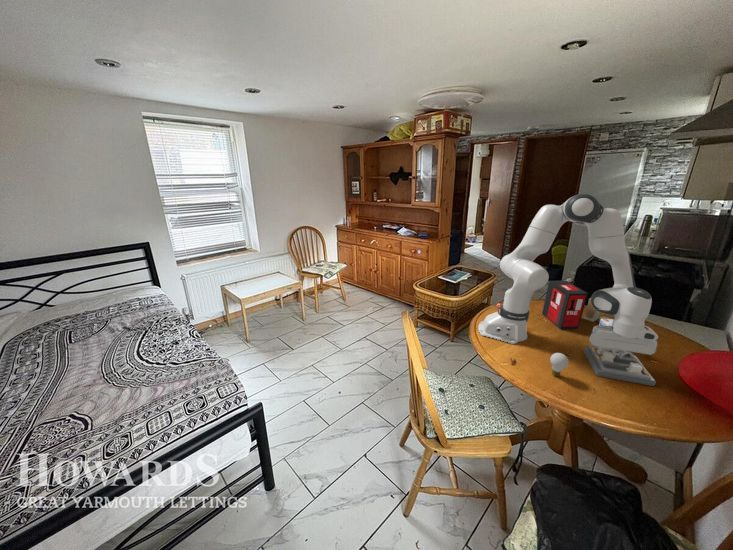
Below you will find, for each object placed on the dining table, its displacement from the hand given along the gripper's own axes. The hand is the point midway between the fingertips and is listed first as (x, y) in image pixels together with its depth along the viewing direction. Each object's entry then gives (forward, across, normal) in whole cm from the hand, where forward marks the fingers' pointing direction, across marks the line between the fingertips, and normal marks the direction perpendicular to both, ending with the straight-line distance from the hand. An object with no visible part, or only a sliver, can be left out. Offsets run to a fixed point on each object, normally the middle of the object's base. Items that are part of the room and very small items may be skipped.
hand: (616, 357), depth 116 cm
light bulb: (+5, -23, -14) cm, 27 cm away
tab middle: (+2, -3, 0) cm, 4 cm away
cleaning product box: (+5, -12, +35) cm, 37 cm away
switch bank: (+4, +1, 0) cm, 4 cm away
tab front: (+2, +4, -5) cm, 7 cm away
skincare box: (+5, +4, +42) cm, 43 cm away
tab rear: (+2, -3, +5) cm, 6 cm away
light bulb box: (+5, +4, +18) cm, 19 cm away
